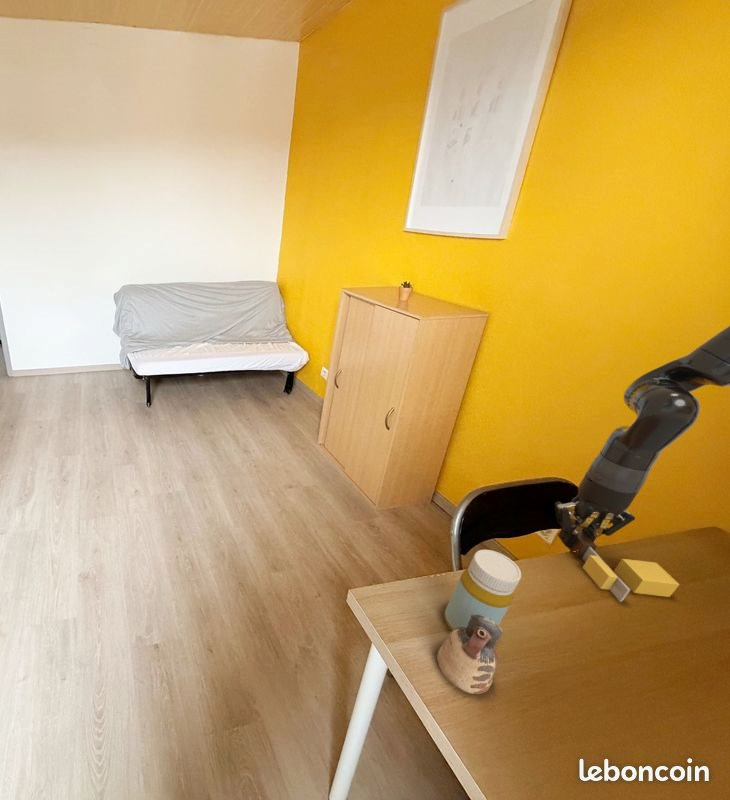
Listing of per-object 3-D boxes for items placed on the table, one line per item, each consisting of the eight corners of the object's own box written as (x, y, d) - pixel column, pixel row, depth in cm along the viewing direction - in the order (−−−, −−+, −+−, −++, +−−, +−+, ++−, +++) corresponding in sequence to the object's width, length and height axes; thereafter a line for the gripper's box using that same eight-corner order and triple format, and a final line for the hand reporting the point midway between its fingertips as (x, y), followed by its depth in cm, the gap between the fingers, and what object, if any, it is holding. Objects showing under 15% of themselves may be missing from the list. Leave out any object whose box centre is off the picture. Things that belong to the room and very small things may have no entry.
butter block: (645, 576, 81) (656, 562, 79) (667, 599, 76) (679, 584, 74) (611, 573, 81) (621, 558, 79) (632, 594, 77) (643, 580, 75)
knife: (557, 535, 89) (564, 523, 87) (569, 537, 89) (576, 524, 87) (613, 601, 75) (623, 587, 73) (627, 602, 75) (638, 589, 73)
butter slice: (589, 570, 82) (598, 555, 80) (607, 591, 77) (618, 577, 76) (580, 569, 82) (590, 554, 80) (599, 590, 78) (609, 576, 76)
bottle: (433, 616, 72) (461, 555, 65) (461, 602, 75) (490, 542, 68) (471, 653, 66) (505, 590, 59) (499, 637, 69) (535, 575, 62)
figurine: (497, 679, 63) (528, 629, 57) (473, 706, 59) (504, 656, 54) (450, 640, 68) (475, 591, 63) (426, 663, 65) (449, 614, 59)
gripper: (638, 470, 81) (596, 535, 89) (560, 463, 82) (527, 528, 90) (671, 495, 74) (624, 563, 82) (587, 487, 76) (548, 555, 84)
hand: (573, 544), depth 86 cm, fingers closed on knife, 2 cm apart
